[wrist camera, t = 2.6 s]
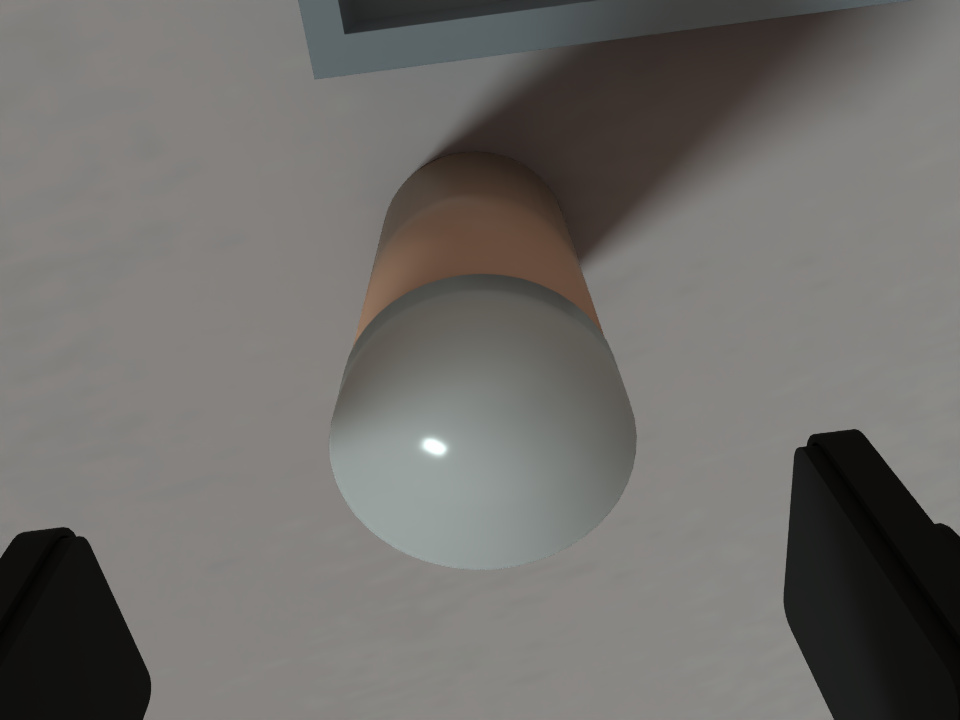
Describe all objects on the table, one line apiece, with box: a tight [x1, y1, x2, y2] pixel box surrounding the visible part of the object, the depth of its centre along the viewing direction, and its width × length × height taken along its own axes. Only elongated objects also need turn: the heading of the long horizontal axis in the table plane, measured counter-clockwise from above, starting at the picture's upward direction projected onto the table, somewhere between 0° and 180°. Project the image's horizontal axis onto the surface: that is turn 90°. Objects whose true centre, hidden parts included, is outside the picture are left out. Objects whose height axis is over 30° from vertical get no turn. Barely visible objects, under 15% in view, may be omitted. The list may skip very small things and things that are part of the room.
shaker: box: [329, 152, 637, 570], centre depth 18 cm, size 5×5×10 cm
